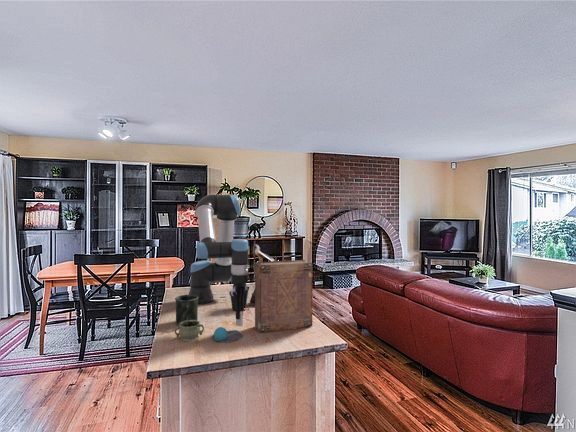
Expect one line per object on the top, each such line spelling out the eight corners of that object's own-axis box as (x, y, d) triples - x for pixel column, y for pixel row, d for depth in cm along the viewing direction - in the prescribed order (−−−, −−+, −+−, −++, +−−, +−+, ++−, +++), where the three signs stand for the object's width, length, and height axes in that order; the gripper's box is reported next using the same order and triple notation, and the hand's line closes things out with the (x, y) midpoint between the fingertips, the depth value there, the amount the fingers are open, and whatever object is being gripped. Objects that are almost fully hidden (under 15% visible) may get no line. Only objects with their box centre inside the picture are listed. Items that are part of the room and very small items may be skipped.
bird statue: (275, 299, 205) (276, 242, 205) (279, 305, 193) (279, 244, 192) (248, 301, 202) (248, 242, 202) (249, 307, 190) (250, 244, 189)
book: (304, 320, 167) (304, 259, 167) (312, 326, 159) (313, 262, 158) (254, 326, 158) (255, 262, 158) (260, 333, 149) (260, 265, 149)
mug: (199, 318, 170) (199, 294, 170) (197, 327, 155) (197, 301, 155) (176, 319, 168) (176, 295, 167) (172, 329, 153) (172, 302, 153)
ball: (215, 341, 142) (209, 336, 138) (220, 329, 145) (215, 323, 141) (225, 344, 140) (220, 339, 136) (231, 331, 143) (226, 326, 139)
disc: (205, 338, 142) (205, 338, 142) (224, 329, 154) (224, 328, 154) (231, 344, 137) (231, 343, 137) (248, 333, 148) (248, 333, 148)
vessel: (203, 332, 150) (203, 318, 150) (205, 340, 141) (205, 325, 141) (174, 335, 146) (174, 321, 146) (174, 343, 137) (174, 328, 137)
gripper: (238, 276, 146) (238, 331, 146) (254, 272, 157) (253, 322, 158) (224, 275, 149) (223, 328, 149) (240, 270, 161) (240, 320, 161)
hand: (239, 325), depth 154 cm, fingers closed
